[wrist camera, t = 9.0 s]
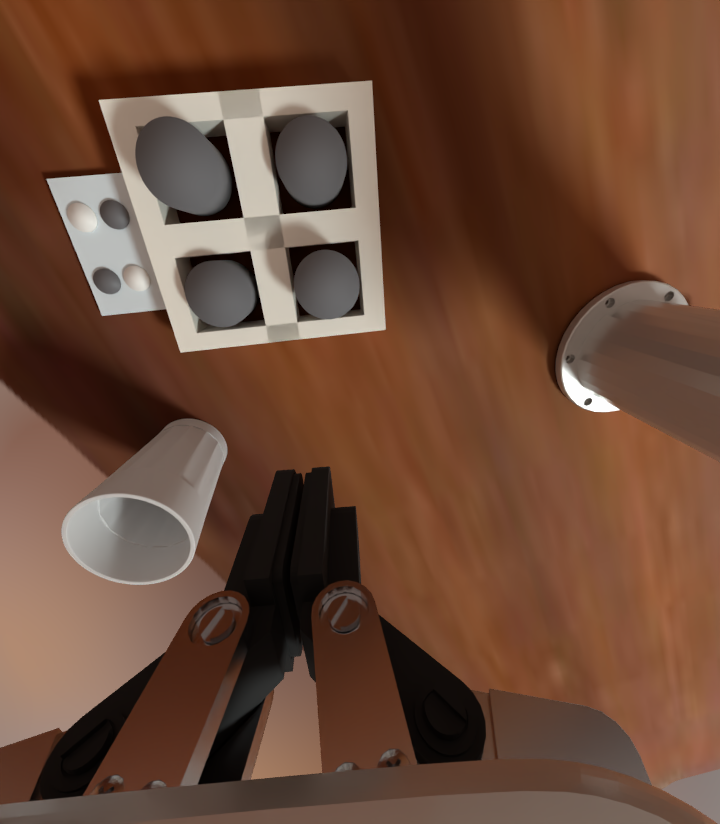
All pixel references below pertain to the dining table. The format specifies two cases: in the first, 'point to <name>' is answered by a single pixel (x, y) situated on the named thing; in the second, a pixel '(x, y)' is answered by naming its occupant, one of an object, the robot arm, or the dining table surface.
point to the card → (108, 242)
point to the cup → (149, 507)
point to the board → (258, 207)
